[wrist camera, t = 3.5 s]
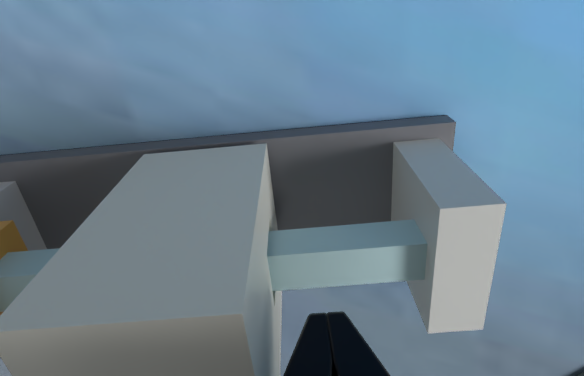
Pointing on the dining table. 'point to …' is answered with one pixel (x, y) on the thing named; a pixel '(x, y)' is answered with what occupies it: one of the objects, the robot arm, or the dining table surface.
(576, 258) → the dining table surface
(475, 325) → the grey piece
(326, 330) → the robot arm
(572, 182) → the dining table surface
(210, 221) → the white block
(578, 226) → the dining table surface
